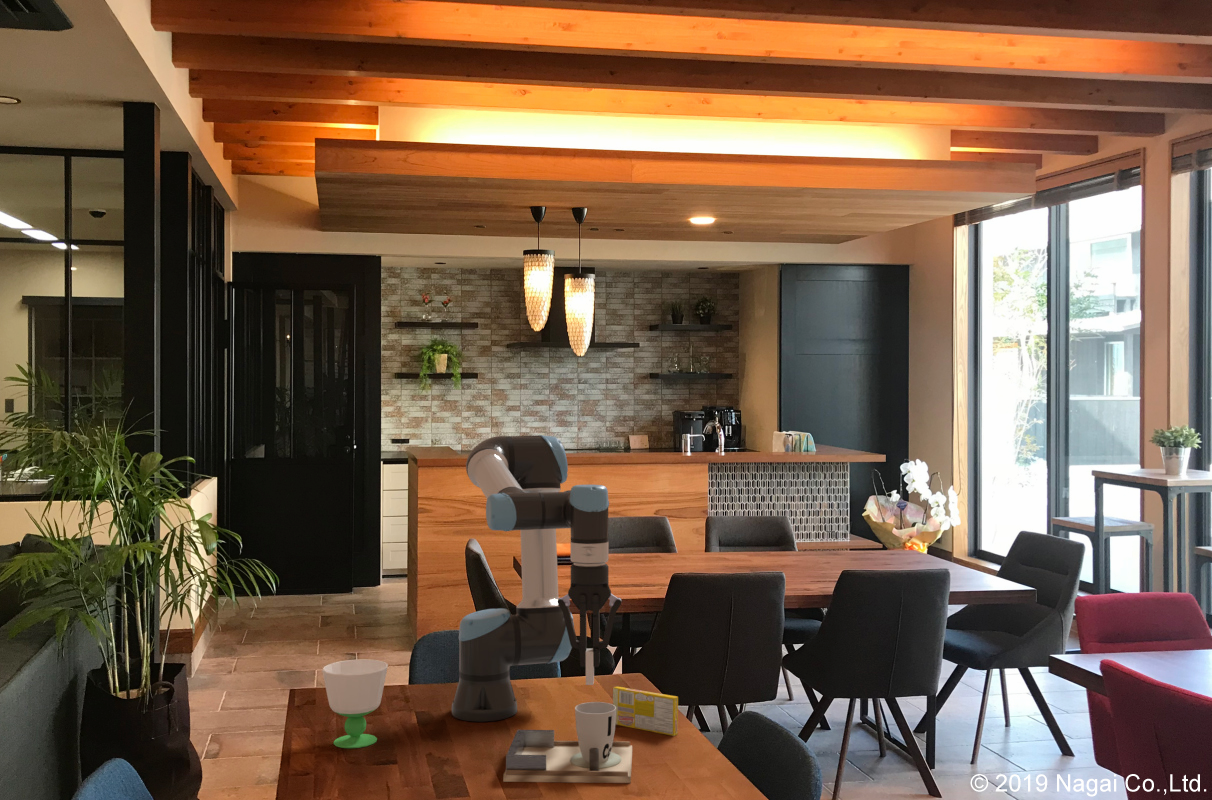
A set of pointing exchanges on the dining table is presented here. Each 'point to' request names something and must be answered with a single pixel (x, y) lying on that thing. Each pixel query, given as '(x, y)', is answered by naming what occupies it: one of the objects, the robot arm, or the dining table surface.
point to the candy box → (646, 710)
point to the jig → (577, 765)
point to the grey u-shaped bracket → (529, 740)
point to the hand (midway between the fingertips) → (589, 683)
